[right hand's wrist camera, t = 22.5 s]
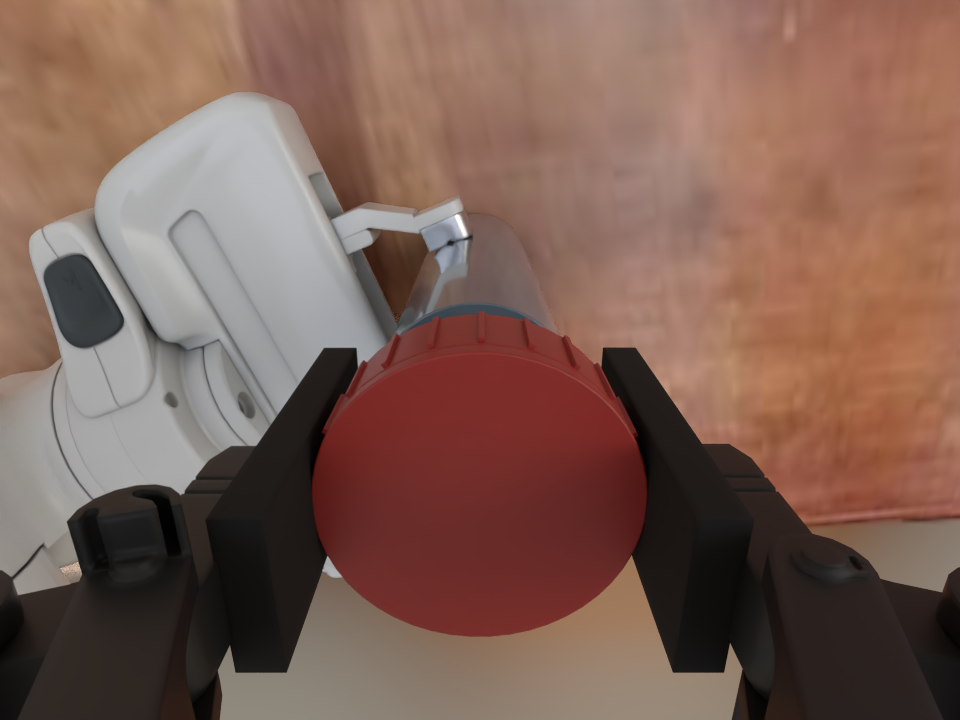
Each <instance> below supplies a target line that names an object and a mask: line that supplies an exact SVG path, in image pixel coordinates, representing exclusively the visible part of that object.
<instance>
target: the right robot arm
mask: <svg viewBox="0 0 960 720" xmlns="http://www.w3.org/2000/svg"><path fill="white" fill-rule="evenodd" d="M357 369H358V360H357V348H324V349H323V350H322V351H321V353H320V354H319V356H318V357H317V359H316V360H315V362H314V363H313V364H312V366H311V367H310V369H309V370H308V372H307V373H306V375H305V376H304V378H303V379H302V380H301V382H300V383H299V385H298V386H297V388H296V389H295V391H294V392H293V393H292V395H291V396H290V398H289V399H288V401H287V402H286V404H285V405H284V406H283V408H282V409H281V411H280V412H279V414H278V415H277V417H276V418H275V419H274V421H273V422H272V424H271V425H270V427H269V428H268V430H267V431H266V432H265V434H264V435H263V437H262V438H261V440H260V441H259V443H258V444H257V446H230V447H229V448H227V449H225V450H224V451H222V452H221V453H219V454H218V455H216V456H214V457H213V458H211V459H210V460H209V461H208V462H207V463H206V464H205V466H204V467H203V468H202V469H201V471H200V472H199V473H198V474H197V476H196V479H195V480H192V482H191V483H190V484H189V485H188V487H187V488H186V489H185V493H184V494H181V495H180V494H179V493H178V492H176V491H175V490H174V489H173V488H171V487H167V486H162V485H157V484H151V485H135V486H131V487H127V488H122V489H118V490H114V491H112V492H109V493H107V494H104V495H102V496H100V497H97V498H95V499H93V500H91V501H90V502H88V503H87V504H85V505H84V506H82V507H81V508H79V509H77V511H76V512H75V513H74V514H73V515H72V516H71V517H70V518H69V520H68V521H67V525H68V528H69V531H70V535H71V538H72V541H73V545H74V548H75V551H76V555H77V558H78V561H79V565H80V568H81V571H82V576H81V579H80V581H79V582H76V583H72V584H69V585H64V586H59V587H55V588H50V589H45V590H40V591H36V592H31V593H26V594H21V595H18V593H17V591H16V588H15V585H14V582H13V579H12V577H11V576H9V575H8V574H7V573H5V572H4V571H2V570H0V720H220V710H221V702H222V691H221V685H220V679H219V675H218V669H219V667H220V664H221V662H222V660H223V658H224V656H225V654H226V652H227V650H228V648H229V646H230V647H231V651H232V657H233V662H234V667H235V672H236V673H286V672H287V670H288V667H289V664H290V661H291V658H292V656H293V653H294V650H295V647H296V644H297V641H298V639H299V636H300V633H301V630H302V627H303V624H304V621H305V619H306V616H307V613H308V610H309V607H310V604H311V602H312V599H313V596H314V593H315V590H316V587H317V584H318V582H319V579H320V576H321V573H322V570H323V567H324V564H325V562H326V559H327V554H326V552H325V550H324V548H323V546H322V543H321V541H320V539H319V537H318V533H317V530H316V524H315V517H314V509H313V500H312V490H311V480H312V475H313V469H314V464H315V460H316V457H317V454H318V452H319V449H320V446H321V443H322V441H323V439H324V437H325V434H322V431H323V428H324V426H325V425H326V423H327V421H328V419H329V417H330V415H331V413H332V411H333V409H334V407H335V405H336V403H337V401H338V399H339V397H340V395H341V394H344V395H345V394H346V392H347V389H348V387H349V385H350V383H351V381H352V379H353V377H354V375H355V373H356V371H357ZM602 370H603V372H604V374H605V376H606V378H607V380H608V382H609V384H610V386H611V388H612V390H613V392H614V394H615V396H616V397H619V398H620V400H621V402H622V404H623V406H624V408H625V410H626V412H627V414H628V416H629V418H630V420H631V422H632V424H633V426H634V428H635V430H636V432H637V434H638V437H636V438H635V440H636V442H637V444H638V447H639V450H640V453H641V455H642V458H643V461H644V466H645V471H646V476H647V487H648V495H647V505H646V513H645V521H644V525H643V529H642V532H641V536H640V538H639V540H638V543H637V545H636V547H635V550H634V552H633V554H632V557H633V560H634V562H635V565H636V568H637V571H638V574H639V577H640V580H641V583H642V585H643V588H644V591H645V594H646V597H647V600H648V603H649V605H650V608H651V611H652V614H653V617H654V620H655V622H656V625H657V628H658V631H659V634H660V637H661V640H662V642H663V645H664V648H665V651H666V654H667V657H668V660H669V662H670V665H671V668H672V671H673V672H674V673H724V670H725V665H726V660H727V655H728V650H729V645H730V643H731V645H732V648H733V650H734V652H735V654H736V656H737V658H738V660H739V662H740V664H741V666H742V668H743V670H742V675H741V679H740V684H739V689H738V693H737V698H736V703H735V707H734V712H733V717H732V720H960V567H959V568H957V569H956V570H954V571H953V572H951V573H950V574H949V575H948V578H947V581H946V583H945V586H944V589H943V592H937V591H932V590H928V589H923V588H918V587H913V586H908V585H904V584H899V583H894V582H890V581H886V580H883V579H880V577H879V575H878V573H877V572H876V571H875V569H874V568H873V567H872V565H871V564H870V562H869V561H868V560H867V559H865V558H864V557H863V556H861V555H860V554H859V553H857V552H856V551H855V550H853V549H852V548H850V547H848V546H846V545H844V544H841V543H839V542H837V541H835V540H833V539H830V538H826V537H822V536H818V535H815V534H812V533H811V532H810V530H809V529H808V528H807V527H806V525H805V524H804V523H803V522H802V520H801V519H800V518H799V517H798V515H797V514H796V513H795V512H794V511H793V509H792V508H791V507H790V506H789V504H788V503H787V502H786V501H785V499H784V498H783V497H782V496H781V494H780V493H779V492H776V490H775V487H774V486H773V485H772V483H771V482H770V481H769V480H768V478H765V477H764V473H763V472H762V471H761V470H760V468H759V467H758V466H757V465H756V464H755V462H754V461H753V460H752V459H751V458H750V457H749V456H747V455H745V454H744V453H742V452H741V451H739V450H738V449H736V448H734V447H733V446H731V445H730V444H702V443H701V442H700V440H699V439H698V437H697V436H696V434H695V433H694V432H693V430H692V429H691V427H690V426H689V424H688V423H687V421H686V420H685V419H684V417H683V416H682V414H681V413H680V411H679V410H678V408H677V407H676V406H675V404H674V403H673V401H672V400H671V398H670V397H669V395H668V394H667V393H666V391H665V390H664V388H663V387H662V385H661V384H660V382H659V381H658V380H657V378H656V377H655V375H654V374H653V372H652V371H651V369H650V368H649V366H648V365H647V364H646V362H645V361H644V359H643V358H642V356H641V355H640V353H639V352H638V351H637V349H636V348H603V355H602Z"/></svg>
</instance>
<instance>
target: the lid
mask: <svg viewBox="0 0 960 720" xmlns="http://www.w3.org/2000/svg"><path fill="white" fill-rule="evenodd" d="M322 434H325V437H324V439H323V441H322V443H321V446H320V449H319V452H318V454H317V457H316V460H315V464H314V469H313V475H312V480H311V490H312V500H313V509H314V517H315V524H316V530H317V533H318V537H319V539H320V541H321V543H322V546H323V548H324V550H325V552H326V554H327V556H328V557H329V559H330V560H331V562H332V564H333V565H334V567H335V568H336V570H337V571H338V572H339V573H340V575H341V576H342V577H343V578H344V579H345V581H346V582H347V583H348V584H349V585H350V586H351V587H352V588H353V589H354V590H355V591H357V592H358V593H359V594H360V595H361V596H362V597H363V598H365V599H366V600H367V601H369V602H370V603H372V604H373V605H374V606H376V607H377V608H379V609H380V610H382V611H384V612H386V613H388V614H389V615H391V616H393V617H395V618H397V619H399V620H402V621H404V622H406V623H409V624H411V625H414V626H417V627H420V628H424V629H427V630H430V631H434V632H439V633H444V634H450V635H459V636H469V637H491V636H500V635H510V634H515V633H519V632H524V631H529V630H532V629H535V628H538V627H542V626H545V625H548V624H550V623H552V622H555V621H557V620H559V619H562V618H564V617H566V616H568V615H570V614H571V613H573V612H575V611H576V610H578V609H580V608H582V607H583V606H585V605H586V604H587V603H589V602H590V601H591V600H593V599H594V598H595V597H597V596H598V595H599V594H600V593H601V592H602V591H603V590H604V589H605V588H606V587H608V586H609V585H610V584H611V583H612V582H613V580H614V579H615V578H616V577H617V575H618V574H619V573H620V572H621V571H622V569H623V568H624V566H625V565H626V563H627V562H628V560H629V558H630V557H631V555H632V554H633V552H634V550H635V547H636V545H637V543H638V540H639V538H640V536H641V532H642V529H643V525H644V521H645V513H646V505H647V495H648V487H647V476H646V471H645V466H644V461H643V458H642V455H641V453H640V450H639V447H638V444H637V442H636V440H635V438H636V437H638V434H637V432H636V430H635V428H634V426H633V424H632V422H631V420H630V418H629V416H628V414H627V412H626V410H625V408H624V406H623V404H622V402H621V400H620V398H619V397H616V396H615V394H614V392H613V390H612V388H611V386H610V384H609V382H608V380H607V378H606V376H605V374H604V372H603V370H602V368H601V366H600V365H599V364H598V363H596V364H595V365H594V364H593V363H592V362H591V361H590V360H589V359H588V358H587V357H586V356H585V355H584V354H583V353H582V352H581V351H580V350H579V349H578V348H576V347H575V346H574V345H572V343H571V340H570V338H569V337H568V336H566V335H565V336H564V337H561V336H559V335H557V334H555V333H554V332H552V331H550V330H548V329H546V328H543V327H541V326H538V325H536V324H533V323H531V322H530V320H529V318H525V317H524V318H523V320H520V319H516V318H512V317H507V316H499V315H490V314H484V311H478V314H467V315H460V316H452V317H446V318H443V319H439V316H437V317H433V320H432V321H431V322H428V323H425V324H423V325H420V326H418V327H416V328H413V329H411V330H409V331H407V332H405V333H403V334H402V335H400V336H399V335H398V334H397V333H396V334H394V335H393V336H392V338H391V340H390V342H389V343H388V344H386V345H385V346H384V347H382V348H381V349H380V350H379V351H377V352H376V353H375V354H374V355H373V356H372V357H371V358H370V359H369V360H368V361H367V362H366V361H365V360H363V361H362V362H361V363H360V365H359V367H358V369H357V371H356V373H355V375H354V377H353V379H352V381H351V383H350V385H349V387H348V389H347V392H346V394H345V395H344V394H341V395H340V397H339V399H338V401H337V403H336V405H335V407H334V409H333V411H332V413H331V415H330V417H329V419H328V421H327V423H326V425H325V426H324V428H323V431H322Z"/></svg>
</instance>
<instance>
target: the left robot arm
mask: <svg viewBox="0 0 960 720" xmlns="http://www.w3.org/2000/svg"><path fill="white" fill-rule="evenodd" d="M381 229H382V230H391V231H400V232H408V233H417V234H420V233H421V235H422V237H423V239H424V241H425V243H426V245H427V247H428V250H429V252H430V253H431V252H434V251H436V250H438V249H441V248H443V247H444V246H446V245H447V244H448V242H449V241H455V242H456V241H459V240H462V239H465V238H467V237H469V236H470V235H472V234H473V232H472V231H473V229H472V226H471V224H470V221H469V219H468V216H467V213H466V211H465V208H464V206H463V203H462V201H461V199H460V196H459V195H457V196H454V197H451V198H448V199H446V200H444V201H441V202H439V203H437V204H434V205H432V206H430V207H427V208H425V209H423V210H420V211H417V209H416V208H409V207H401V206H394V205H387V204H380V203H373V202H367V203H365V204H362V205H360V206H358V207H355V208H353V209H351V210H348V211H346V212H344V211H343V209H342V207H341V205H340V203H339V201H338V199H337V197H336V195H335V192H334V190H333V188H332V186H331V184H330V182H329V180H328V178H327V176H326V174H325V172H324V170H323V168H322V166H321V163H320V161H319V159H318V157H317V155H316V153H315V151H314V149H313V147H312V145H311V143H310V141H309V139H308V137H307V135H306V132H305V130H304V128H303V126H302V124H301V122H300V120H299V118H298V116H297V114H296V112H295V110H294V109H293V108H292V107H291V106H290V105H289V104H287V103H285V102H283V101H280V100H278V99H275V98H273V97H271V96H268V95H264V94H261V93H257V92H248V91H245V92H235V93H231V94H228V95H225V96H223V97H221V98H219V99H216V100H214V101H212V102H210V103H208V104H206V105H204V106H203V107H201V108H199V109H197V110H195V111H194V112H192V113H190V114H188V115H186V116H185V117H183V118H181V119H180V120H178V121H176V122H175V123H173V124H171V125H170V126H168V127H167V128H165V129H164V130H162V131H161V132H159V133H157V134H156V135H154V136H153V137H151V138H150V139H149V140H147V141H146V142H144V143H143V144H142V145H140V146H139V147H137V148H136V149H135V150H133V151H132V152H131V153H129V154H128V155H127V156H125V157H124V158H123V159H122V160H121V161H119V162H118V163H117V164H116V165H115V166H114V167H113V168H112V169H111V170H110V171H109V172H108V174H107V175H106V176H105V177H104V179H103V181H102V182H101V184H100V186H99V188H98V191H97V194H96V198H95V205H94V207H93V208H89V209H85V210H82V211H79V212H76V213H73V214H71V215H68V216H66V217H63V218H61V219H58V220H56V221H54V222H52V223H50V224H48V225H46V226H44V227H42V228H40V229H39V230H37V231H36V232H35V233H34V234H33V235H32V236H31V238H30V241H29V254H30V258H31V262H32V265H33V268H34V271H35V274H36V277H37V280H38V282H39V285H40V288H41V291H42V294H43V297H44V300H45V303H46V306H47V309H48V312H49V315H50V318H51V322H52V325H53V328H54V332H55V335H56V339H57V342H58V346H59V350H60V354H61V358H60V359H58V360H57V361H56V362H55V363H54V364H53V365H52V366H50V367H49V368H47V369H45V370H39V371H28V372H21V373H17V374H12V375H8V376H5V377H2V378H0V570H2V571H4V572H5V573H7V574H8V575H9V576H11V577H12V579H13V582H14V585H15V588H16V591H17V593H18V595H21V594H26V593H31V592H36V591H40V590H45V589H50V588H55V587H59V586H64V585H69V584H70V582H69V581H68V580H67V578H66V577H65V575H64V574H63V573H62V571H61V570H60V568H62V567H65V566H68V565H70V564H73V563H76V562H79V561H78V558H77V555H76V551H75V548H74V545H73V541H72V538H71V535H70V531H69V528H68V525H67V521H68V520H69V518H70V517H71V516H72V515H73V514H74V513H75V512H76V511H77V509H79V508H81V507H82V506H84V505H85V504H87V503H88V502H90V501H91V500H93V499H95V498H97V497H100V496H102V495H104V494H107V493H109V492H112V491H114V490H118V489H122V488H127V487H131V486H135V485H151V484H157V485H162V486H167V487H171V488H173V489H174V490H175V491H176V492H178V493H179V494H180V495H181V494H184V493H185V489H186V488H187V487H188V485H189V484H190V483H191V482H192V480H195V479H196V476H197V474H198V473H199V472H200V471H201V469H202V468H203V467H204V466H205V464H206V463H207V462H208V461H209V460H210V459H211V458H213V457H214V456H216V455H218V454H219V453H221V452H222V451H224V450H225V449H227V448H229V447H230V446H257V444H258V443H259V441H260V440H261V438H262V437H263V435H264V434H265V432H266V431H267V430H268V428H269V427H270V425H271V424H272V422H273V421H274V419H275V418H276V417H277V415H278V414H279V412H280V411H281V409H282V408H283V406H284V405H285V404H286V402H287V401H288V399H289V398H290V396H291V395H292V393H293V392H294V391H295V389H296V388H297V386H298V385H299V383H300V382H301V380H302V379H303V378H304V376H305V375H306V373H307V372H308V370H309V369H310V367H311V366H312V364H313V363H314V362H315V360H316V359H317V357H318V356H319V354H320V353H321V351H322V350H323V349H324V348H357V360H358V367H359V365H360V363H361V362H362V361H363V360H365V361H366V362H367V361H368V360H369V359H370V358H371V357H372V356H373V355H374V354H375V353H376V352H377V351H379V350H380V349H381V348H382V347H384V346H385V345H386V344H388V343H389V342H390V340H391V338H392V336H393V334H394V331H395V329H396V326H397V324H398V323H397V321H396V319H395V317H394V315H393V313H392V311H391V309H390V307H389V304H388V302H387V300H386V298H385V296H384V294H383V292H382V290H381V288H380V286H379V284H378V282H377V280H376V277H375V275H374V273H373V271H372V269H371V267H370V265H369V263H368V261H367V259H366V257H365V255H364V253H363V251H362V248H364V247H367V246H369V245H371V244H373V242H374V241H375V240H376V239H377V238H378V237H379V236H380V234H381ZM322 573H325V574H328V575H329V576H330V577H333V578H339V577H342V576H341V575H340V573H339V572H338V571H337V570H336V568H335V567H334V565H333V564H332V562H331V560H330V559H329V557H328V556H327V559H326V562H325V564H324V567H323V570H322Z"/></svg>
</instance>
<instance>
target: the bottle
mask: <svg viewBox="0 0 960 720" xmlns="http://www.w3.org/2000/svg"><path fill="white" fill-rule="evenodd" d="M467 216H468V219H469V221H470V224H471V226H472V229H473V231H472V232H473V234H472V235H470V236H469V237H467V238H465V239H462V240H459V241H456V242H455V241H449V242H448V244H447V245H446V246H444V247H443V248H441V249H438V250H436V251H434V252H431V253H430V252H429V250H428V251H427V254H426V256H425V258H424V261H423V263H422V266H421V268H420V271H419V273H418V275H417V278H416V280H415V283H414V285H413V288H412V290H411V292H410V295H409V297H408V300H407V302H406V305H405V307H404V309H403V312H402V314H401V317H400V319H399V322H398V324H397V326H396V329H395V331H394V334H396V333H397V334H398V335H399V336H400V335H402V334H403V333H405V332H407V331H409V330H411V329H413V328H416V327H418V326H420V325H423V324H425V323H428V322H431V321H432V320H433V317H437V316H439V319H443V318H446V317H452V316H460V315H467V314H478V311H484V314H490V315H499V316H507V317H512V318H516V319H520V320H523V318H524V317H525V318H529V320H530V322H531V323H533V324H536V325H538V326H541V327H543V328H546V329H548V330H550V331H552V332H554V333H555V334H557V335H559V332H558V330H557V327H556V325H555V322H554V320H553V317H552V315H551V312H550V310H549V307H548V305H547V302H546V300H545V297H544V295H543V292H542V290H541V287H540V285H539V282H538V280H537V277H536V275H535V273H534V270H533V268H532V265H531V263H530V260H529V258H528V255H527V253H526V250H525V248H524V245H523V243H522V241H521V239H520V237H519V236H518V234H517V233H516V232H515V231H514V229H513V228H512V227H511V226H509V225H508V224H507V223H506V222H504V221H503V220H501V219H499V218H497V217H494V216H491V215H487V214H479V213H474V214H467ZM394 334H393V335H394ZM559 336H560V335H559Z"/></svg>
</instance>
